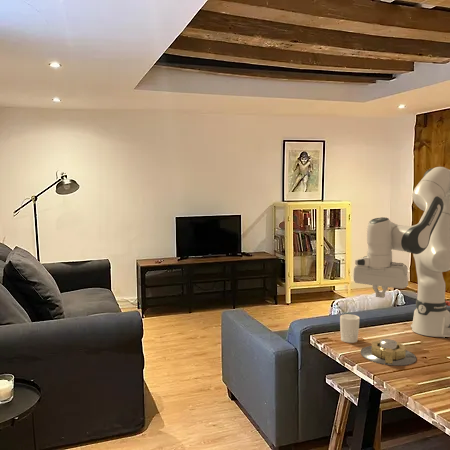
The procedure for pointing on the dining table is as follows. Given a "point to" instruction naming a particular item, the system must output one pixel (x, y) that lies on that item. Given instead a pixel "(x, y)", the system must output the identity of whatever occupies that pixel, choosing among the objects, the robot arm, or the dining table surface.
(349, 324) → the white cup
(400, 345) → the ring nut
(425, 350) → the dining table surface
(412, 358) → the hub plate
